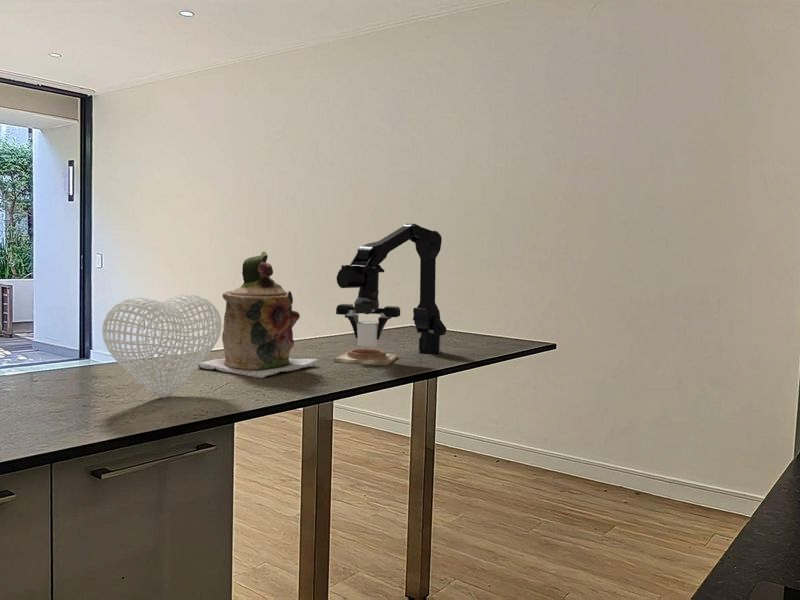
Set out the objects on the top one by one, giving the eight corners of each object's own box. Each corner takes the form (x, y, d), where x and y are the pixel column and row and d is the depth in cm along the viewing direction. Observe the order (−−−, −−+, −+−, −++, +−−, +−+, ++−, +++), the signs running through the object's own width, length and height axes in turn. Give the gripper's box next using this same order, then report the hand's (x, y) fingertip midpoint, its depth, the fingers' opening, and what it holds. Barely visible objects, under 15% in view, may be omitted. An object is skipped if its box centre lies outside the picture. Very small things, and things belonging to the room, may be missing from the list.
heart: (140, 414, 140) (141, 302, 139) (86, 404, 147) (85, 297, 146) (234, 391, 165) (235, 295, 163) (184, 383, 172) (185, 291, 170)
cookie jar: (192, 368, 192) (194, 249, 189) (252, 357, 214) (253, 250, 211) (266, 379, 180) (268, 253, 178) (320, 366, 202) (323, 253, 200)
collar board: (397, 357, 221) (397, 349, 221) (387, 365, 207) (387, 356, 207) (347, 354, 225) (347, 346, 224) (334, 361, 210) (334, 353, 210)
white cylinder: (351, 345, 215) (351, 322, 215) (367, 343, 220) (368, 320, 220) (367, 348, 211) (367, 324, 210) (383, 346, 216) (384, 323, 215)
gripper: (331, 287, 208) (330, 340, 209) (393, 290, 204) (392, 344, 206) (341, 285, 219) (340, 336, 220) (401, 288, 215) (399, 339, 216)
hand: (367, 339), depth 215 cm, fingers closed on white cylinder, 6 cm apart
